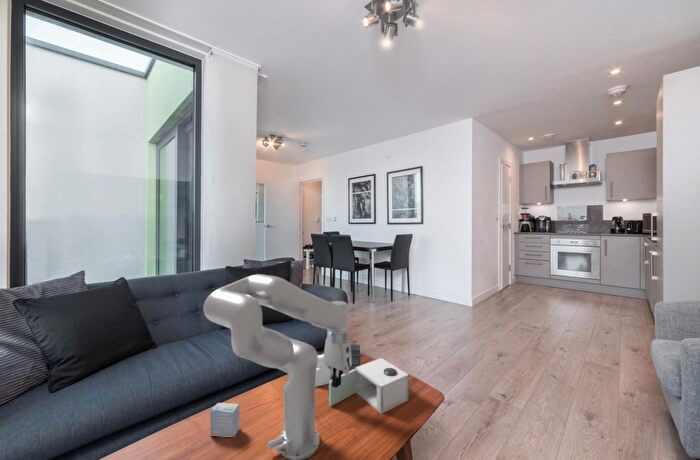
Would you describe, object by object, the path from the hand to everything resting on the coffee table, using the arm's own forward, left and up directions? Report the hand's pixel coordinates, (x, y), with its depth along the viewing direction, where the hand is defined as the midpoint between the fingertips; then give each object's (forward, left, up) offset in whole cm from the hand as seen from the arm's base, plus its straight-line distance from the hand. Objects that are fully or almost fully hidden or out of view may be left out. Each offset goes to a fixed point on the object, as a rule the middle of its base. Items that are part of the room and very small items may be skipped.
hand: (336, 385), depth 103 cm
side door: (+5, +4, -9) cm, 11 cm away
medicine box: (-36, +11, -9) cm, 39 cm away
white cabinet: (+19, -3, -9) cm, 21 cm away
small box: (+20, +21, -9) cm, 30 cm away
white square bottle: (+4, +20, -9) cm, 22 cm away
